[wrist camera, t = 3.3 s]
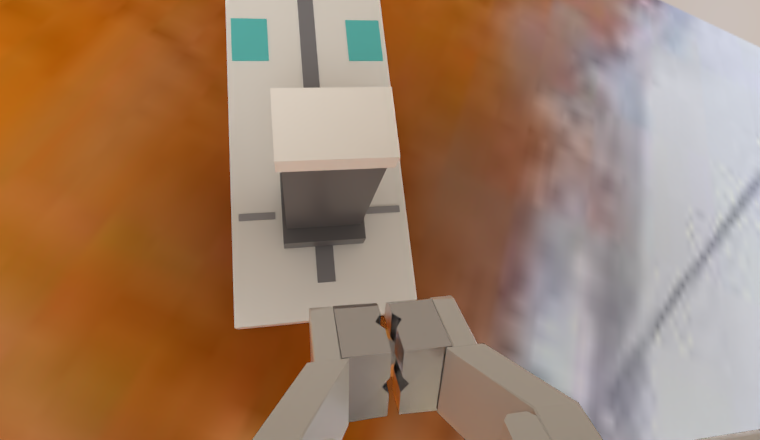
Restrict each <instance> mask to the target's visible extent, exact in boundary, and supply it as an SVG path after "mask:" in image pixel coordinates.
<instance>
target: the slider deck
mask: <svg viewBox="0 0 760 440" xmlns="http://www.w3.org/2000/svg"><path fill="white" fill-rule="evenodd" d="M225 6H226V42H227V78H228V114H229V150H230V187H231V223H232V259H233V295H234V328H236V329H249V328H259V327H269V326H280V325H290V324H300V323H309V308H315V307H329V306H331V307H333V306H339V305H354V304H370V303H377V304H378V306H379V310H380V313H381V316H383V315H385V306H386V302H395V301H405V300H416V299H417V294H416V286H415V278H414V270H413V262H412V254H411V246H410V238H409V230H408V222H407V214H406V206H405V198H404V190H403V182H402V174H401V166H400V159H399V161H398V163H397V165H396V167H395V168H387V169H386V171H385V173H384V176H383V178H382V180H381V182H380V184H379V186H378V189H377V191H376V193H375V195H374V197H373V199H372V202H371V204H370V206H369V208H368V210H367V212H366V214H365V217H364V224H365V234H366V239H365V241H364V243H360V244H345V245H331V246H316V247H301V248H287V249H284V241H283V223H282V205H281V187H280V173H281V172H275V165H274V150H273V131H272V112H271V93H270V88H330V87H391V85H390V77H389V69H388V61H387V53H386V45H385V37H384V29H383V21H382V13H381V5H380V0H225Z"/></svg>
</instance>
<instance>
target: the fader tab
mask: <svg viewBox="0 0 760 440" xmlns="http://www.w3.org/2000/svg"><path fill="white" fill-rule="evenodd" d="M270 93H271V112H272V131H273V150H274V165H275V172H281V173H280V187H281V205H282V223H283V241H284V249H287V248H301V247H316V246H331V245H345V244H360V243H364V241H365V239H366V234H365V224H364V217H365V214H366V212H367V210H368V208H369V206H370V204H371V202H372V199H373V197H374V195H375V193H376V191H377V189H378V186H379V184H380V182H381V180H382V178H383V176H384V173H385V171H386V169H387V168H395V167H396V165H397V163H398V161H399V159H400V149H399V141H398V133H397V125H396V117H395V109H394V101H393V93H392V87H330V88H270Z"/></svg>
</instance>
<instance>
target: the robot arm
mask: <svg viewBox="0 0 760 440" xmlns="http://www.w3.org/2000/svg"><path fill="white" fill-rule="evenodd" d="M384 317H385V320H386V324H387V328H386V330H385V328H383V327H382V326H380V321H381V313H380V310H379V306H378V304H377V303H370V304H354V305H339V306H333V307H331V306H329V307H315V308H309V327H310V353H311V362H309V363H306V365H305V366H304V368H303V369H302V370H301V372H300V373H299V375H298V376H297V377H296V379H295V380H294V382H293V383H292V384H291V386H290V387H289V389H288V390H287V391H286V393H285V394H284V396H283V397H282V398H281V400H280V401H279V403H278V404H277V406H276V407H275V408H274V410H273V411H272V413H271V414H270V415H269V417H268V418H267V420H266V421H265V422H264V424H263V425H262V427H261V428H260V429H259V431H258V432H257V434H256V435H255V436H254V438H253V439H252V440H342V438H343V436H344V434H345V431H346V429H347V427H348V425H349V422H353V421H359V420H365V419H371V418H377V417H384V416H387V412H388V400H389V392H388V388H387V384H386V381H387V380H388V379H389V378H390V376H392V377H393V382H392V391H393V395H394V398H395V402H396V406H397V409H398V413H399V414H407V413H417V412H427V411H436V410H437V413H438V414H439V415H440V416H441V417H442V418H444V419H445V420H446V421H447V422H448V423H449V424H450V425H451V426H452V427H453V428H454V429H455V430H456V431H457V432H458V433H459V434H460V435H461V436H462V437H463V438H464V439H465V440H603V439H602V438H601V436H600V435H599V433H598V432H597V430H596V429H595V427H594V426H593V424H592V423H591V421H590V420H589V418H588V417H587V415H586V414H585V412H584V411H583V409H582V408H581V406H580V405H579V403H578V402H576V401H575V400H573V399H571V398H570V397H568V396H567V395H565V394H564V393H562V392H560V391H559V390H557V389H556V388H554V387H552V386H551V385H549V384H548V383H546V382H544V381H543V380H541V379H540V378H538V377H536V376H535V375H533V374H532V373H530V372H528V371H527V370H525V369H524V368H522V367H521V366H519V365H517V364H516V363H514V362H513V361H511V360H509V359H508V358H506V357H505V356H503V355H501V354H500V353H498V352H497V351H495V350H493V349H492V348H490V347H489V346H487V345H485V344H477V342H476V340H475V338H474V336H473V334H472V332H471V330H470V328H469V326H468V324H467V322H466V321H465V319H464V317H463V315H462V313H461V311H460V309H459V307H458V305H457V303H456V301H455V299H454V298H453V297H452V296H451V295H448V296H439V297H431V298H426V299H416V300H405V301H395V302H386V306H385V315H384ZM696 440H760V429H758V430H752V431H746V432H740V433H733V434H727V435H721V436H715V437H708V438H702V439H696Z"/></svg>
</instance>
